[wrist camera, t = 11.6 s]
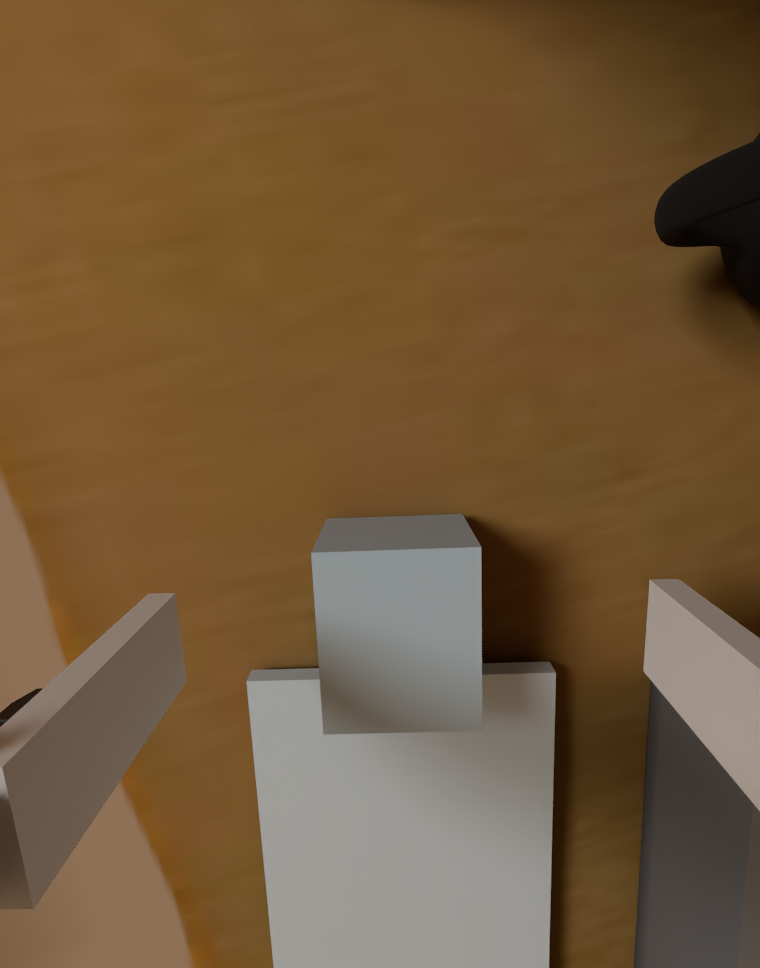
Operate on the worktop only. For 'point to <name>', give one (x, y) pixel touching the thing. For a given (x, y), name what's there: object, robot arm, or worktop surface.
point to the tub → (695, 855)
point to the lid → (404, 765)
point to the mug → (719, 214)
